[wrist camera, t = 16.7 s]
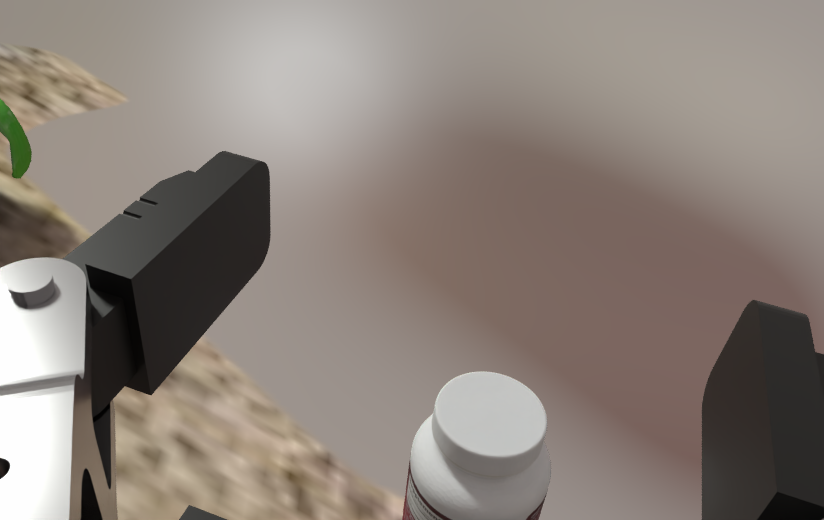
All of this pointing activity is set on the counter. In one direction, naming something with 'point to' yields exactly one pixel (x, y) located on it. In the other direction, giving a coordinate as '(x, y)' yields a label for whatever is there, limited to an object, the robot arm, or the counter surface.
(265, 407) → the counter surface
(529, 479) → the pill bottle
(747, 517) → the robot arm
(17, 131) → the snack cup
